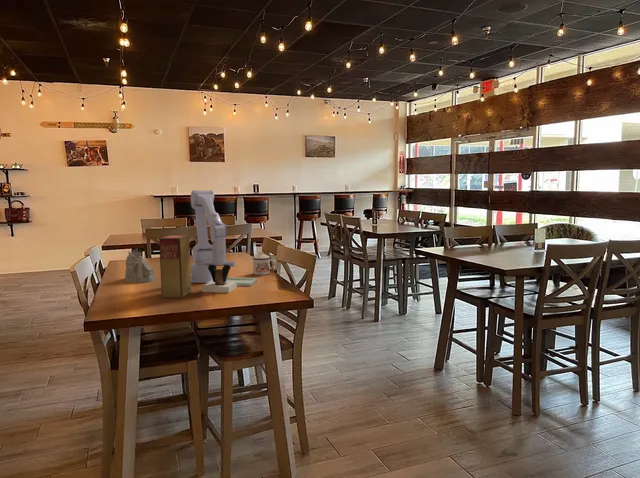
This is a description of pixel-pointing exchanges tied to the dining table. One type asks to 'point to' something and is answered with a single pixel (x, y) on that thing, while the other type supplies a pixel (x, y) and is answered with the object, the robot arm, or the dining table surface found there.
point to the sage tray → (243, 281)
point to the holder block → (219, 287)
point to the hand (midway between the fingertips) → (219, 281)
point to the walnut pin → (219, 277)
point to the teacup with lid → (262, 264)
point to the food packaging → (175, 266)
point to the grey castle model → (138, 270)
